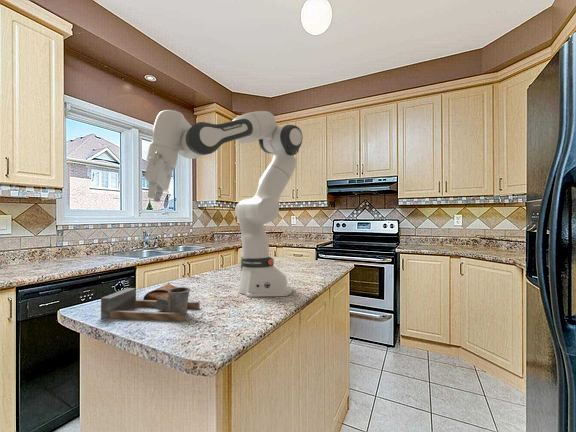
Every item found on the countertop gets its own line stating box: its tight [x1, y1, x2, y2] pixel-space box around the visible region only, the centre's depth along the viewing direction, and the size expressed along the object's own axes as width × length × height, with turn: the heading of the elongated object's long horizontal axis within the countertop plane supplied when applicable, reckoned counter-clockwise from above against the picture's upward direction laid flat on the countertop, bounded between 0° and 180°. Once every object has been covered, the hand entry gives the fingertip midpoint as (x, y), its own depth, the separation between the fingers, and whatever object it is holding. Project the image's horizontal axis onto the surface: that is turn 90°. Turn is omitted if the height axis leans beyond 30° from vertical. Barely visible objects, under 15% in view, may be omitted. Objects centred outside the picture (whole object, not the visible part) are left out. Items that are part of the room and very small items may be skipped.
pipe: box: [154, 286, 191, 316], centre depth 92 cm, size 6×13×8 cm, turn 68°
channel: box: [100, 287, 200, 322], centre depth 92 cm, size 26×12×6 cm, turn 84°
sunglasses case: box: [142, 282, 178, 300], centre depth 111 cm, size 18×7×7 cm
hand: (153, 200), depth 92 cm, fingers open, 8 cm apart
